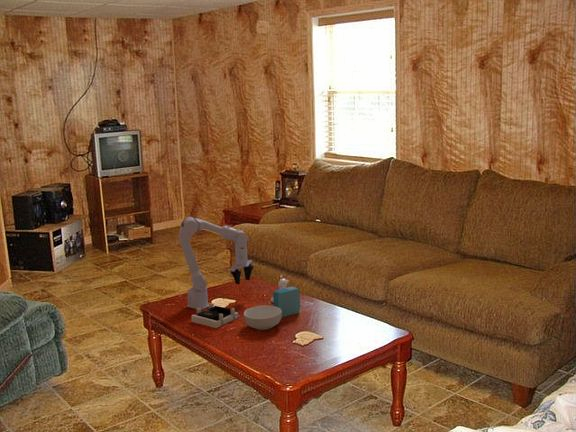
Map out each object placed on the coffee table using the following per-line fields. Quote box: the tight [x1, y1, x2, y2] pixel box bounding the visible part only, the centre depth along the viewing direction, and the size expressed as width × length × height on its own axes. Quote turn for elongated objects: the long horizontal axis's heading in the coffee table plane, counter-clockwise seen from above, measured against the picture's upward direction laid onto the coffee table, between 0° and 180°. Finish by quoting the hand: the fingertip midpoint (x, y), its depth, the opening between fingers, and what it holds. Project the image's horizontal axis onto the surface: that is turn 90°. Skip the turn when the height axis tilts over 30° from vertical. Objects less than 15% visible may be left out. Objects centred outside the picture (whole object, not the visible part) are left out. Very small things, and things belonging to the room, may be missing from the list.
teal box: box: [272, 286, 301, 319], centre depth 295 cm, size 12×4×12 cm, turn 125°
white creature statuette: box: [270, 278, 290, 304], centre depth 312 cm, size 10×9×12 cm
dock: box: [191, 302, 239, 329], centre depth 291 cm, size 16×15×5 cm
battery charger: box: [196, 305, 231, 321], centre depth 292 cm, size 13×10×4 cm
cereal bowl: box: [243, 305, 283, 331], centre depth 281 cm, size 17×17×7 cm
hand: (242, 281), depth 313 cm, fingers open, 7 cm apart
